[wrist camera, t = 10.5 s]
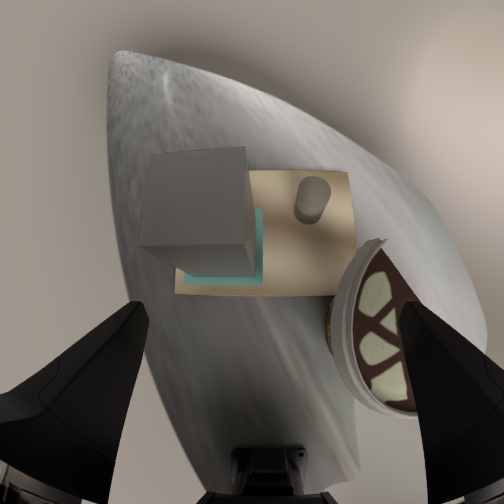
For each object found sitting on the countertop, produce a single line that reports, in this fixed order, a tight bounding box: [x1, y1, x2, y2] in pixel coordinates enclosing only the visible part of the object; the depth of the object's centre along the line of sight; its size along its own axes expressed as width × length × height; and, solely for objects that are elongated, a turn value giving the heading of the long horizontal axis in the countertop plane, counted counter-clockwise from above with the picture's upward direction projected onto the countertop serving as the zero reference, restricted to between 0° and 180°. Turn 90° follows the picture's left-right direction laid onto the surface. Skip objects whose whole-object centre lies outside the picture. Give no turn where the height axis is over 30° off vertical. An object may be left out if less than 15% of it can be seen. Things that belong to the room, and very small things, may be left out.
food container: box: [325, 238, 422, 419], centre depth 16 cm, size 12×6×10 cm, turn 36°
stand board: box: [175, 170, 357, 296], centre depth 21 cm, size 11×15×5 cm
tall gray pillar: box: [138, 147, 256, 277], centre depth 17 cm, size 5×5×10 cm
